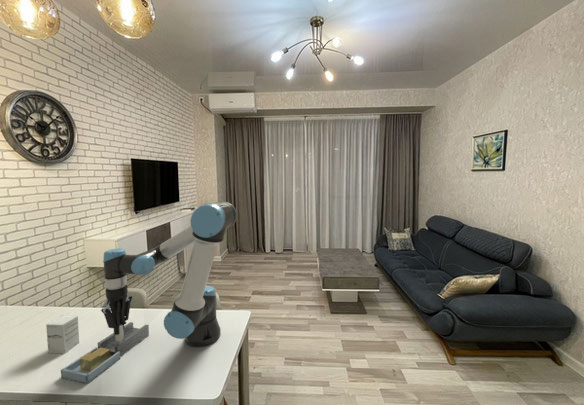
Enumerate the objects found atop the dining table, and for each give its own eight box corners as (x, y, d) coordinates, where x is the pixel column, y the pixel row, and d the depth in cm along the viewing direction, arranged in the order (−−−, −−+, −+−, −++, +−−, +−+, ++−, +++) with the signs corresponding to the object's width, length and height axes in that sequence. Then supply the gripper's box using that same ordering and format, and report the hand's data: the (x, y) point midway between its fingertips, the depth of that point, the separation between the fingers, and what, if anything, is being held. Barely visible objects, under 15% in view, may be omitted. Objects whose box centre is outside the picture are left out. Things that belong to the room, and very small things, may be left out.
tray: (120, 358, 102) (119, 351, 102) (87, 384, 89) (87, 375, 89) (96, 354, 105) (95, 347, 105) (61, 377, 92) (60, 370, 92)
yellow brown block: (99, 354, 97) (90, 360, 94) (100, 365, 98) (91, 372, 94) (89, 352, 98) (79, 358, 95) (89, 363, 99) (80, 369, 95)
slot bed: (148, 335, 118) (148, 324, 117) (118, 358, 102) (117, 346, 102) (131, 332, 120) (130, 322, 120) (98, 354, 105) (97, 343, 104)
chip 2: (110, 357, 102) (110, 349, 102) (99, 365, 98) (99, 356, 97) (100, 355, 103) (100, 347, 103) (89, 363, 99) (89, 354, 98)
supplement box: (47, 353, 105) (45, 324, 104) (64, 342, 112) (62, 314, 111) (64, 354, 105) (62, 324, 104) (80, 342, 112) (78, 315, 111)
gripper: (122, 279, 113) (125, 330, 115) (94, 292, 101) (97, 348, 103) (136, 281, 112) (139, 332, 114) (109, 293, 99) (113, 351, 101)
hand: (119, 340), depth 108 cm, fingers closed
